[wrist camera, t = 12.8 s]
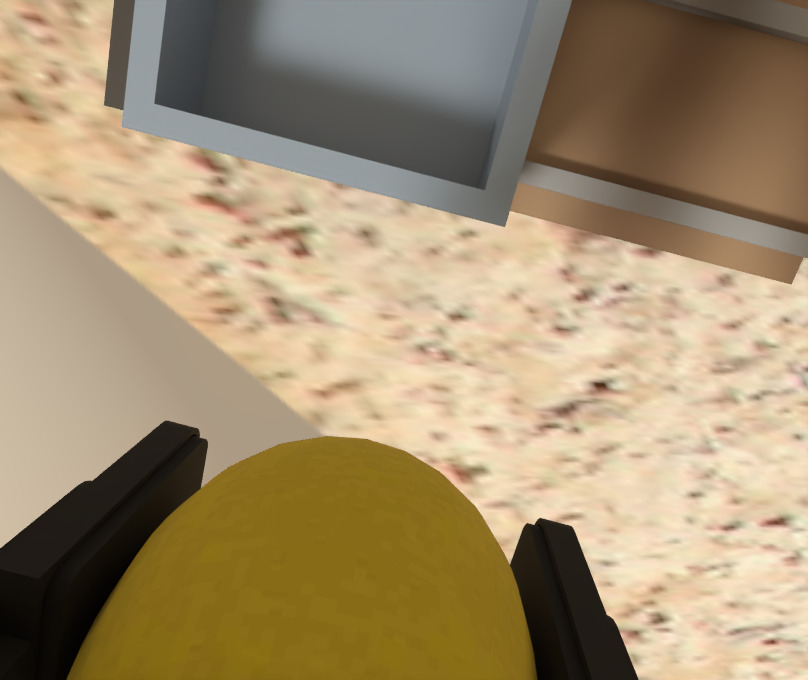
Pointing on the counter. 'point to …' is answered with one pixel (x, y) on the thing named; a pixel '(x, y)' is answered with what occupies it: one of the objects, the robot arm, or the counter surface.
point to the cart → (353, 89)
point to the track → (661, 128)
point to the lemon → (316, 579)
